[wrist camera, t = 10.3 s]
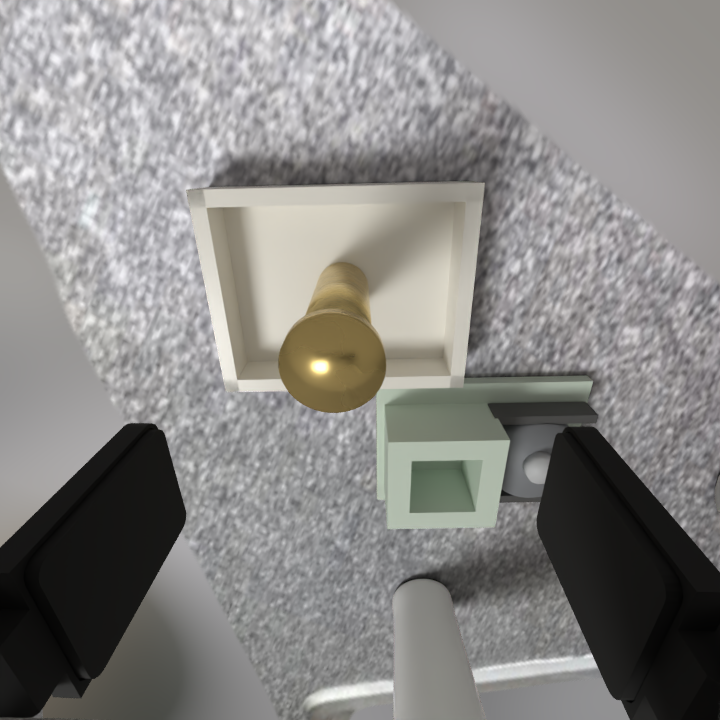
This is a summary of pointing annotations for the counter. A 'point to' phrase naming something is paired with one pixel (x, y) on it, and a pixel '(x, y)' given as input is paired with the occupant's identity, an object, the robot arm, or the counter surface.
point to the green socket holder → (471, 446)
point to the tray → (333, 245)
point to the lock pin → (334, 345)
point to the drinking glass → (430, 657)
